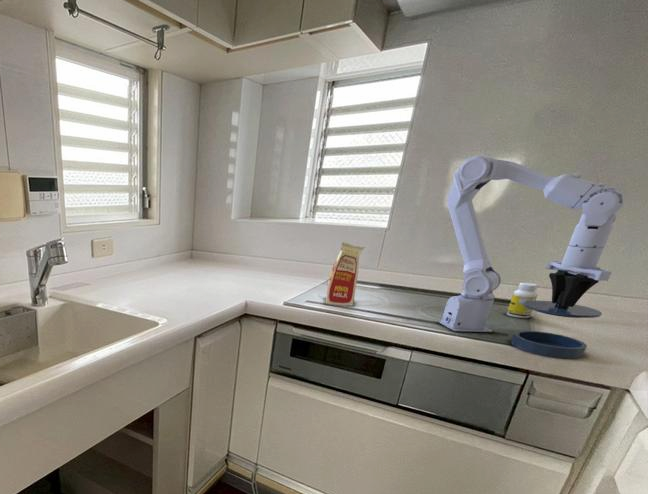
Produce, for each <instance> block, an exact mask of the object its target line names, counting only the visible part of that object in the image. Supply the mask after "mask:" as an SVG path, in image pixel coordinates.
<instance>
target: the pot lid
mask: <svg viewBox="0 0 648 494" xmlns="http://www.w3.org/2000/svg"><path fill="white" fill-rule="evenodd" d="M564 293H565V290H561V291H560V294H559V296H558V299H557V301H556V303H552V300H536V301H526V302H524V304H523V306H525V307H526V308H529V309H532V311H535V312H538V313H541V314H545V315H549V316H555V317H561V318H569V319H570V318H573V319H593V318H599V317H602V314H603V313H602V312H601V311H600V310H599V309H596V308H592V307H589V306H584V305H580V304H575V305H574V306H573V307H564V306H562V300H563V296H564Z"/></svg>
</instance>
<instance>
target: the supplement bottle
mask: <svg viewBox="0 0 648 494" xmlns="http://www.w3.org/2000/svg"><path fill="white" fill-rule="evenodd" d="M538 286H539V285H538V284H537V283H533V282H520V283H519V284H518V289H516V290H514V292H512V297H511V299H510V302H509V305H508V308H507V312H506V315H507V316H509V317H512V318H517V319H528V318H530V317H531V315H532V312H533V310H532V309H529V308H526V307H525V306H523V304H524V302H526V301H537V299H538V296H539V294H538V293H537V289H538Z"/></svg>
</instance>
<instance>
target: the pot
mask: <svg viewBox="0 0 648 494" xmlns="http://www.w3.org/2000/svg"><path fill="white" fill-rule="evenodd" d="M511 345H512V346H513V347H515V348H517V349H520V350H522V351H524V352H527V353H531V354H534V355H540V356H544V357H550V358H556V359H569V360H570V359H572V360H573V359H580V358H582V357H583V355H584V354H585V352H586V351H587V350H586V349H587V348H588V344H587V343H585V342H584V341H581V340H580V339H579V340H578V339H577V338H573V337H569V336H567V335H563V334H559V333H558V334H557V333H552V332H548V331H547V332H545V331H539V330H538V331H537V330H520V331H516V332H514V334H513V336H512V338H511Z"/></svg>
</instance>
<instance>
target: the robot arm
mask: <svg viewBox="0 0 648 494" xmlns="http://www.w3.org/2000/svg"><path fill="white" fill-rule="evenodd" d="M581 177H582V174H579V173H576V172H573V174H570V173H569V174H568V173H565V174H561V175H558V176H552V175H549V174H547V173H544V172H541V171H538V170H536V169H533V168H531V167H528V166H526V165H523V164H521V163H517V162H515V161H509V160H505V159H504V160H503V159H498V158H493V157H486V156H483V155H475V156H474V155H473V156H472V157H469V158H467V159H465V161H463V162H462V164H460V166H459V168H457V170H456V171H455V172H454V174H453V181H452V182H451V183H452V184H451V186H450V190H449V192H448V194H447V198H446V204H447V205H446V206H447V207H448V211H449V215H450V218H451V222H452V226H453V229H454V233H455V236H456V241H457V245H458V249H459V251H460V255H461V258H462V263H463V270H462V275H463V282H462V286H461V287H462V291H461V293H460V295H454V296H451V297H449V298H448V300H447V302H446V304H445V306H444V311H443V314H442V317H441V320H440V321H439V322H438V323H439V324H440V325H442V326H444V327H446V328H448V329H450V330H452V331H454V332H468V333H469V332H471V333H492V332H493V330H492V329H490V328H488V327H486V325H487V322H488V320H489V316H490V313H491V310H492V307H493V304H494V301H495V298H496V296H495V294H494V292H493V291H495V290H497V289H498V288H499V287H500V284H501V281H502V278H501V275H500V274H499V272H497V271H496V270H495V268H494V267H493V263H492V262H491V260H490V259H489V257H488V254H487V250H486V247H485V246H486V245H485V243H484V240H483V236H482V232H481V229H480V225H479V221H478V217H477V214H476V210H475V207H474V203H473V199H475V197H476V196H477V195H478V193H479V192H480V191H481V189H482V188H483V187H484V186H486V185H488V184H489V183H490V182H491V181H501V180H510V181H512V182H516V183H519V184H522V185H524V186H528V187H530V188H534V189H537V190H539V191H542V192H543V195H544V196H543V197H544V199H545V200H546V201H548V202H549V201H550V202H553V203H555V204H558V205H561V206H563V207H566V208H569V209H571V210H574V211H577V210H581V211H582V213H581V217H580V220H579V222H578V223H577V224H576V225H575V227H574V230H573V233H572V235H571V238H570V240H569V243H568V246H567V248H566V251H565V253H564V255H563V258H562V261H558V260H557V261H556V260H549V261H548V262H547V265H546V268H545V269H546V270H552V271H556V272H549V275H548V277H549V280H550V283H551V301H552V303H556V301H557V299H558V296H559V294H560V291H561V290H565V293H564V296H563V300H562V306H564V307H573V306H574V305H577V303H578V301H579V300H580V299H581V298H582V297H583V296H584V294H585V293H586V292H588V291H589V290H590V289H591V288H592V287H594V286H595V285H596V284H598V283H599V281H600V282H601V281H605V282H608V281H609V279H610V277H611V275H612V271H611V270H610V271H609V270H606V269H603V268H601V266H598V264H599V261H600V260H601V259H600V258H601V256H602V254H603V251H604V249H605V247H606V245H607V242H608V240H609V237H610V235H611V233H612V231H613V229H614V225H613V224H614V223H615V221H616V219H617V213H618V212H619V211H620V210H621V209H622V207H623V205H624V202H625V196H624V194H623V193H622V192H621V191H619V190H617V189H616V188H613V187H610V188H605V187H606V185H607V183H603V182H600V183H595V182H592V181H589V180H587V179H584V178H581Z"/></svg>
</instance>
